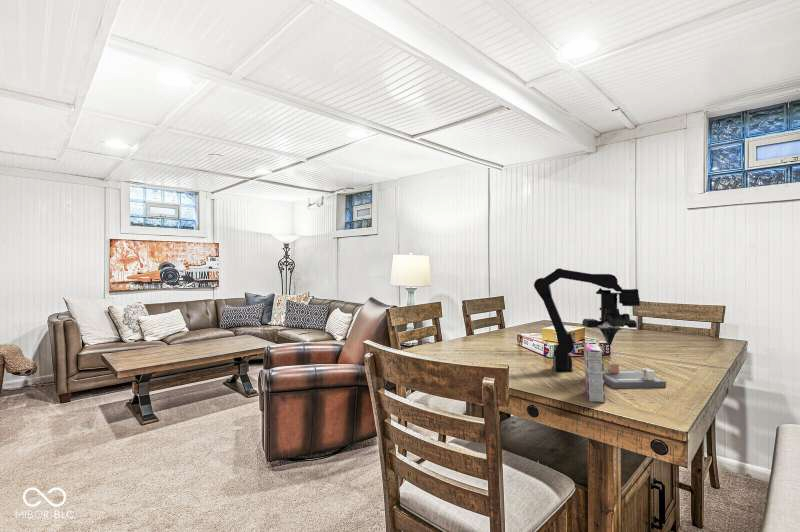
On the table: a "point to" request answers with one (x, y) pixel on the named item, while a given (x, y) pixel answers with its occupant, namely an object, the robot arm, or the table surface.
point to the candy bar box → (594, 372)
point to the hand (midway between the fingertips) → (609, 345)
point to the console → (631, 380)
